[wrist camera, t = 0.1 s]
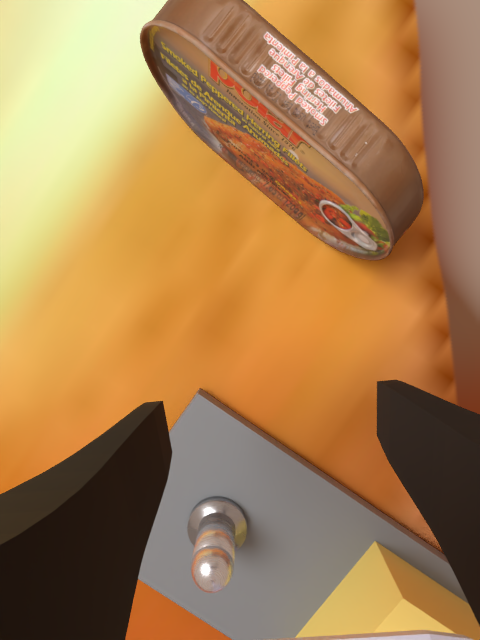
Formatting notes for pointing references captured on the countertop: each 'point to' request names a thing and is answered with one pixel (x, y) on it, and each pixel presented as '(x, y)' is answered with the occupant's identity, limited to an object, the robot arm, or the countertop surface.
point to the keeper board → (266, 528)
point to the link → (390, 601)
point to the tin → (284, 124)
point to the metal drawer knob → (215, 541)
